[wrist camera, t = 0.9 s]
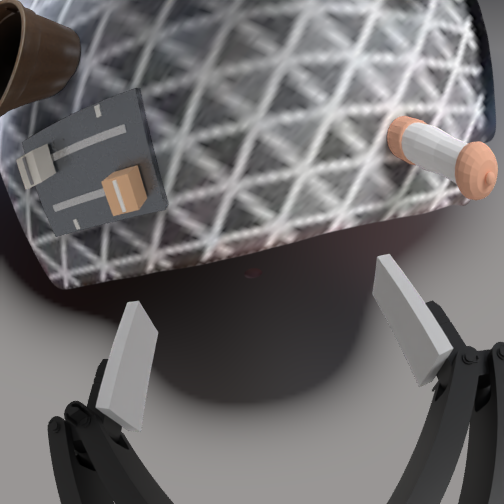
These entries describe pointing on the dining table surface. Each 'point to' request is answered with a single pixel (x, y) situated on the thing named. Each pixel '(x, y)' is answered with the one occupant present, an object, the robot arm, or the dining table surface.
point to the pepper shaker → (444, 155)
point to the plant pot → (33, 56)
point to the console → (96, 162)
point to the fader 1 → (36, 166)
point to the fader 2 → (124, 190)
